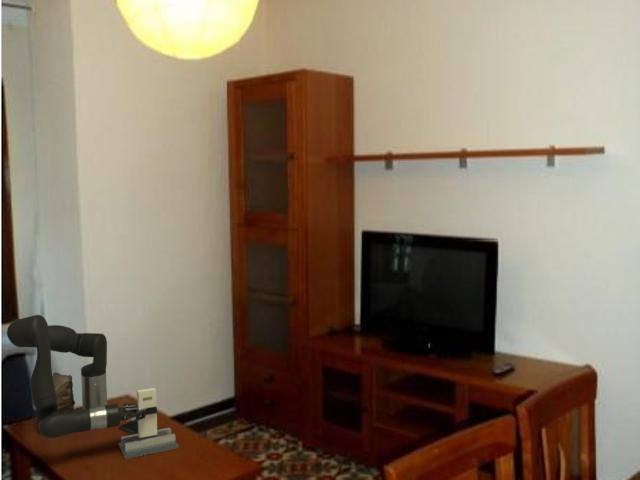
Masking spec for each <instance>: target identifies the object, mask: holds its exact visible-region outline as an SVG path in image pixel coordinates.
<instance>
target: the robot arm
mask: <svg viewBox="0 0 640 480" xmlns="http://www.w3.org/2000/svg"><path fill="white" fill-rule="evenodd" d="M6 335H7V338H8V340H9V342H10V343H11V344H12V345H13V346H15V347H17V348H36V361H35V364H34V367H33V370H32V374H31V376H30V383H29V386H30V392H31V397H32V402H33V405H34V408H35V415H36V420H37V422H36V423H37V428H38V432H39V434H40V433H41V434H42V435H41V436H43V437H44V438H46V439H54V438H59V437H63V436H68V435H71V434H74V433H75V434H76V433H81V432H89V431H98V430H104V429H105V430H106V429H110V428H117V427H119V426H120V425H121V424H120V423H121V421H122V422H123V421H129V422H130V423H133V422H136V421H138V420H141V419H144V418H145V416H146V415H149V414H155V413H157V414H158V406H157V407H150V408H143V409H139V408H137V402H136V403H135V402H134V403H131V402H130V403H123V404H122V407H120V406H119V404H118V403H110V404H108V390H107V389H108V388H107V387H108V385H107V364H108V361H107V360H108V358H107V357H108V353H107V352H108V341H107V337H106V336H105V334H104V333H99V332H98V333H96V332H95V333H94V332H93V333H92V332H79V333H78V332H77V331H76V330H74V329H73V328H71V327H69V326H64V325H59V324H57V325H56V324H52V325H48V322H47V320H46V318H45V317H44V316H43V315H41V314H35V315H32V316H31V315H30V316H26V317H22V318H18V319H15V320H14V321H12V322H11V323H10V324H9V325H8V327H7V330H6ZM51 351H52V352H57V353H63V354H65V353H71V354H73V355H76V356H79V357H83V358H92V362H91V363H89V364H86V365H83V366H82V367H81V369H80V378H81V379H80V380H81V397H82V398H81V401H82V409H79V410H74V412H72V413H68V414H61V415H59V411H58V407H57V396H56V391H55V387H54V382H53V370H52V369H53V368H52V354H51ZM139 411H140V412H139Z"/></svg>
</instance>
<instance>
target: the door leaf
mask: <svg viewBox="0 0 640 480" xmlns="http://www.w3.org/2000/svg"><path fill="white" fill-rule="evenodd" d="M136 400H137V401H136V403H137V408H139V409H143V408H150V407H157V408H158V406H157V389H156V388H155V387H150V388H144V389H138V390H136ZM139 412H140V411H139ZM157 422H158V412H157V413H155V414H149V415H146V416H145V418H144V419H141V420H138V436H139V438H142V437H147V436H153V435H157V429H158V423H157Z"/></svg>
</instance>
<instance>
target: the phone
mask: <svg viewBox="0 0 640 480" xmlns="http://www.w3.org/2000/svg"><path fill="white" fill-rule="evenodd" d="M118 429H119V430H121V431H123V432H126V433H128V434H130V435H134V434H138V421H136V422H133V423H130V421H129V422H126V423H123V424H120V425H119V426H118ZM157 430H159V429H158V428H157Z"/></svg>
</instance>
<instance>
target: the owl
mask: <svg viewBox="0 0 640 480" xmlns="http://www.w3.org/2000/svg"><path fill="white" fill-rule="evenodd" d="M52 377H53V382H54V387H55V391H56V396H57V407H58V411H59V415H61V414H68V413H72V412H74V411H75V408H74V406H75V404H76V402H75V399H74V390H73V386H74V384H73V376H72V375H71V374H69V375H67V374H61V373H59V372H52ZM39 436H43V435H42V434H41V433H40V432H39Z"/></svg>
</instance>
